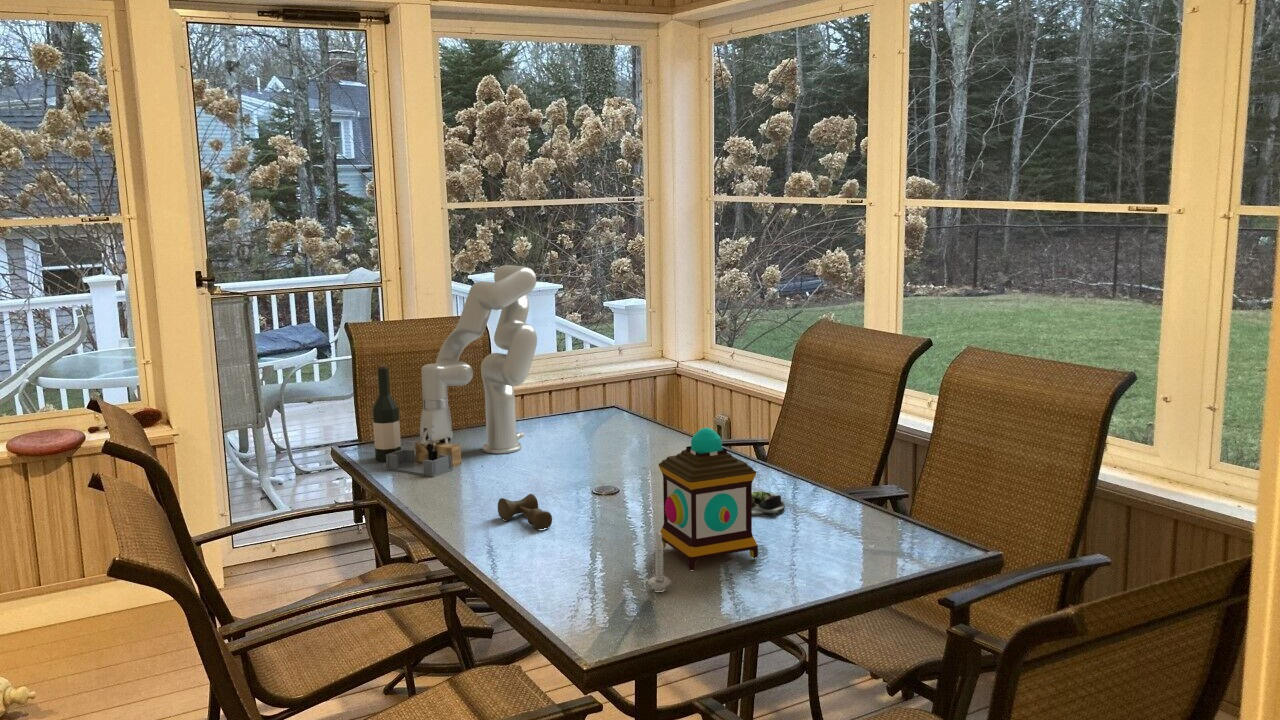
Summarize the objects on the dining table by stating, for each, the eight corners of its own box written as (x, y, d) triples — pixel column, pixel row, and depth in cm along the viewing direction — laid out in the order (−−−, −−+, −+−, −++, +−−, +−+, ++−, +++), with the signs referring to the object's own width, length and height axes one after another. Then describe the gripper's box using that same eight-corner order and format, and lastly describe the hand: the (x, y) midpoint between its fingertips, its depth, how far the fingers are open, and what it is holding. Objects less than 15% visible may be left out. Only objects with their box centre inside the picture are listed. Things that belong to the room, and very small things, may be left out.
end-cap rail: (386, 469, 316) (385, 454, 316) (405, 462, 324) (404, 448, 323) (433, 477, 307) (432, 462, 306) (452, 470, 314) (451, 455, 313)
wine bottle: (398, 462, 324) (392, 368, 319) (371, 462, 324) (365, 368, 319) (404, 455, 332) (399, 363, 327) (379, 455, 333) (373, 363, 327)
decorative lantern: (687, 575, 226) (685, 442, 221) (650, 547, 244) (647, 423, 239) (766, 561, 234) (767, 431, 229) (725, 534, 252) (724, 414, 247)
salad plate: (712, 520, 264) (712, 502, 263) (708, 499, 282) (708, 482, 281) (788, 519, 264) (788, 501, 263) (779, 498, 281) (779, 481, 281)
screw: (666, 596, 215) (645, 593, 217) (674, 587, 220) (653, 585, 221) (665, 536, 213) (643, 534, 215) (673, 529, 217) (651, 526, 219)
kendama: (527, 536, 255) (490, 514, 271) (561, 529, 261) (522, 508, 277) (527, 513, 254) (490, 492, 270) (561, 507, 259) (522, 486, 276)
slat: (416, 461, 325) (415, 442, 324) (424, 458, 328) (423, 440, 327) (452, 467, 317) (451, 448, 316) (461, 464, 321) (460, 445, 320)
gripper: (444, 397, 329) (447, 453, 332) (407, 407, 314) (410, 466, 317) (462, 400, 325) (465, 456, 328) (426, 410, 311) (429, 469, 314)
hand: (438, 460), depth 323 cm, fingers closed on slat, 4 cm apart
